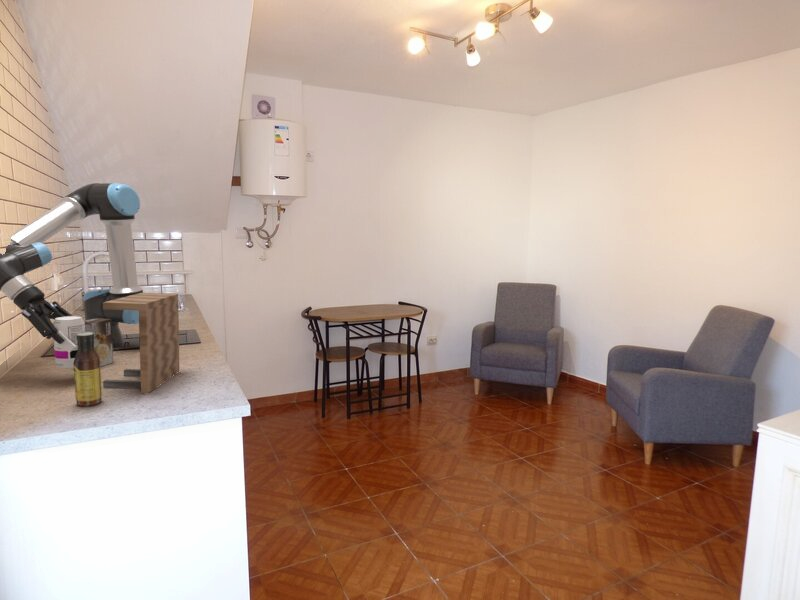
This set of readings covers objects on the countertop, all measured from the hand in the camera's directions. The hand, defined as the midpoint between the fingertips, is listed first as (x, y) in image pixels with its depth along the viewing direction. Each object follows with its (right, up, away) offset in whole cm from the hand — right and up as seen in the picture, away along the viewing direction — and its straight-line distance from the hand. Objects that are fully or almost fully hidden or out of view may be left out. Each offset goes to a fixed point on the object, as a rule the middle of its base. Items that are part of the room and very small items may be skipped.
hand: (81, 345), depth 156 cm
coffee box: (-8, -9, +20) cm, 23 cm away
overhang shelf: (+17, -12, +4) cm, 21 cm away
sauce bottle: (+13, -15, -17) cm, 26 cm away
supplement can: (-4, -6, +1) cm, 7 cm away
